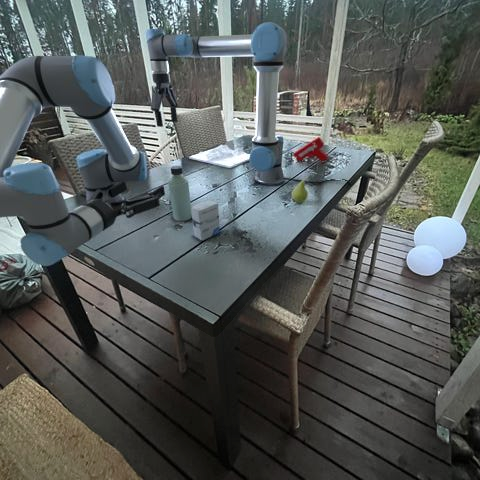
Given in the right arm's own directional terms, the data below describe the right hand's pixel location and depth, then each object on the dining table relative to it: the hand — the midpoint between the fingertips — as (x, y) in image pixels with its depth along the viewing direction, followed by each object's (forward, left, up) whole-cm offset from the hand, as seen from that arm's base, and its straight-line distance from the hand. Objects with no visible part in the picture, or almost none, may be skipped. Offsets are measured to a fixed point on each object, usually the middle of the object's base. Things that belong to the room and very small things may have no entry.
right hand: (167, 124), depth 132 cm
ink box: (-40, +48, -28) cm, 68 cm away
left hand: (-26, +59, -7) cm, 65 cm away
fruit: (-68, +10, -28) cm, 74 cm away
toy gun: (-66, -53, -28) cm, 89 cm away
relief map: (-10, -44, -28) cm, 53 cm away
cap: (-25, +38, -8) cm, 46 cm away
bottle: (-25, +38, -28) cm, 53 cm away
